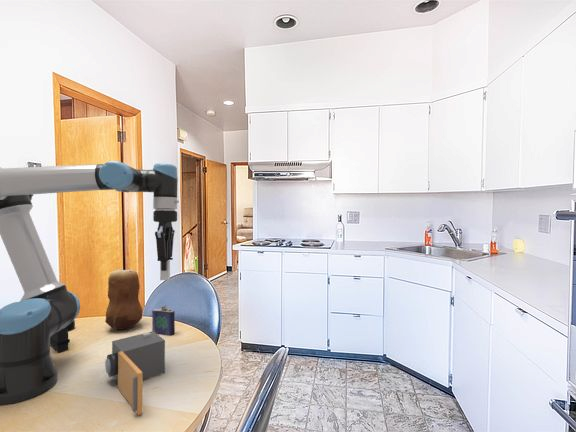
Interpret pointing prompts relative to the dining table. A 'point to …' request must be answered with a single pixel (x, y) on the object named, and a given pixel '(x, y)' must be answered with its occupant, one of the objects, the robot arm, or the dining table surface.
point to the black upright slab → (60, 340)
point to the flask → (163, 321)
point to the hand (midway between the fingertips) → (165, 279)
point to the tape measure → (71, 325)
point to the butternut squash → (123, 300)
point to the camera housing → (139, 354)
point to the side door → (130, 382)
